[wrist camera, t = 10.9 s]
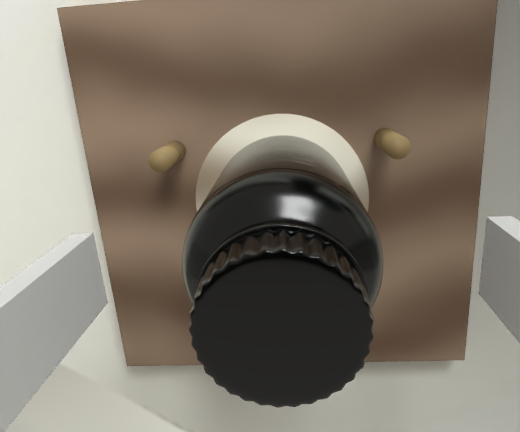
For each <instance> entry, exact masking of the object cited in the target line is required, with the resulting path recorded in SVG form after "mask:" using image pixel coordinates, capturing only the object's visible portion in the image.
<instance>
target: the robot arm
mask: <svg viewBox="0 0 520 432" xmlns="http://www.w3.org/2000/svg"><path fill="white" fill-rule="evenodd" d="M479 294H480V296H481V297H482V298H483V299H484V300H485V302H486V303H487V304H488V305H489V306H490V308H491V309H492V310H493V311H494V312H495V314H496V315H497V316H498V317H499V318H500V320H501V321H502V322H503V323H504V324H505V326H506V327H507V328H508V329H509V330H510V332H511V333H512V334H513V335H514V336H515V338H516V339H517V340H518V341H519V342H520V221H519V220H517V219H516V218H514V217H513V216H496V217H487V220H486V229H485V239H484V248H483V258H482V267H481V277H480V286H479ZM107 303H108V301H107V296H106V292H105V287H104V282H103V277H102V272H101V268H100V263H99V258H98V253H97V248H96V244H95V239H94V234H93V233H75V234H71V235H70V236H68V237H67V238H66V239H64V240H63V241H62V242H60V243H59V244H57V245H56V246H55V247H53V248H52V249H51V250H49V251H48V252H47V253H45V254H44V255H43V256H41V257H40V258H39V259H37V260H36V261H34V262H33V263H32V264H30V265H29V266H28V267H26V268H25V269H24V270H22V271H21V272H20V273H18V274H17V275H16V276H14V277H13V278H11V279H10V280H9V281H7V282H6V283H5V284H3V285H2V286H1V287H0V432H5V430H6V429H7V428H8V427H9V425H10V424H11V423H12V422H13V420H14V419H15V418H16V417H17V415H18V414H19V413H20V411H21V410H22V409H23V408H24V407H25V405H26V404H27V403H28V401H29V400H30V399H31V398H32V397H33V395H34V394H35V393H36V391H37V390H38V389H39V388H40V387H41V385H42V384H43V383H44V382H45V380H46V379H47V378H48V377H49V375H50V374H51V373H52V372H53V370H54V369H55V368H56V367H57V365H58V364H59V363H60V362H61V360H62V359H63V358H64V357H65V355H66V354H67V353H68V352H69V350H70V349H71V348H72V347H73V345H74V344H75V343H76V342H77V340H78V339H79V338H80V337H81V335H82V334H83V333H84V332H85V330H86V329H87V328H88V327H89V325H90V324H91V323H92V322H93V320H94V319H95V318H96V317H97V315H98V314H99V313H100V312H101V310H102V309H103V308H104V307H105V305H106V304H107Z"/></svg>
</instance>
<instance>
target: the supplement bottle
mask: <svg viewBox="0 0 520 432" xmlns="http://www.w3.org/2000/svg"><path fill="white" fill-rule="evenodd" d="M182 273H183V279H184V284H185V288H186V291H187V294H188V296H189V299H190V301H191V303H192V306H191V309H190V319H191V321H190V324H189V332H190V334H191V336H192V341H191V345H192V347H193V348H194V350H195V351H196V352H197V355H196V356H197V360H198V361H199V362H200V363H201V364H202V365H203V366H204V370H205V372H206V373H207V374H208V375H210V376H211V377H213V378H214V381H215V382H216V384H218V385H220V386H222V387H224V388H225V389H226V390H227V391H228V392H229V393H230V394H233V395H238V396H240V397H241V398H242V399H243V400H245V401H254V402H256V403H258V404H260V405H272V406H275V407H283V406H291V407H296V406H299V405H301V404H312V403H314V402H315V401H317V400H319V399H325V398H328V397H329V396H330V395H331V394H332V393H334V392H337V391H340V390H342V388H343V387H344V385H345V384H346V383H348V382H350V381H352V380H353V379H354V377H355V374H356V372H358V371H359V370H360V369H362V368H363V366H364V359H365V358H366V357H367V356H368V355H369V354H370V344H371V342H372V340H373V338H374V333H373V330H372V326H373V322H374V318H373V314H372V311H371V309H372V307H373V305H374V303H375V301H376V298H377V296H378V293H379V290H380V287H381V283H382V277H383V252H382V246H381V243H380V239H379V236H378V233H377V231H376V228H375V226H374V223H373V222H372V220H371V218H370V216H369V214H368V213H367V211H366V209H365V207H364V206H363V204H362V202H361V200H360V199H359V197H358V195H357V193H356V192H355V190H354V188H353V187H352V185H351V183H350V181H349V180H348V178H347V176H346V174H345V173H344V171H343V169H342V168H341V166H340V165H339V163H338V162H337V161H336V160H335V159H334V157H333V156H332V155H331V154H330V153H329V152H327V151H326V150H325V149H323V148H322V147H320V146H319V145H317V144H315V143H313V142H311V141H309V140H306V139H304V138H300V137H295V136H286V135H280V136H271V137H266V138H263V139H260V140H257V141H255V142H253V143H251V144H249V145H247V146H246V147H244V148H243V149H241V150H240V151H239V152H238V153H237V154H235V155H234V156H233V158H232V159H231V160H230V161H229V162H228V164H227V165H226V166H225V168H224V169H223V171H222V172H221V174H220V176H219V177H218V179H217V181H216V182H215V184H214V185H213V187H212V189H211V190H210V192H209V194H208V195H207V197H206V198H205V200H204V202H203V203H202V205H201V207H200V208H199V210H198V212H197V213H196V215H195V217H194V218H193V221H192V223H191V225H190V227H189V230H188V232H187V235H186V238H185V242H184V246H183V253H182Z"/></svg>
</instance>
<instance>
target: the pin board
mask: <svg viewBox="0 0 520 432" xmlns="http://www.w3.org/2000/svg"><path fill="white" fill-rule="evenodd" d="M497 1H498V0H140V1H129V2H118V3H106V4H95V5H84V6H73V7H62V8H57V11H58V16H59V21H60V26H61V31H62V36H63V41H64V46H65V52H66V57H67V62H68V67H69V72H70V77H71V82H72V87H73V92H74V97H75V103H76V108H77V113H78V118H79V123H80V128H81V133H82V138H83V143H84V148H85V154H86V159H87V164H88V169H89V174H90V179H91V184H92V189H93V194H94V199H95V205H96V210H97V215H98V220H99V225H100V230H101V235H102V240H103V245H104V250H105V256H106V261H107V266H108V271H109V276H110V281H111V286H112V291H113V296H114V301H115V306H116V312H117V317H118V322H119V327H120V332H121V337H122V342H123V347H124V352H125V357H126V363H127V366H156V365H202V364H201V363H200V362H199V361H198V360H197V356H196V355H197V352H196V351H195V350H194V348H193V347H192V345H191V341H192V336H191V334H190V332H189V324H190V321H191V319H190V309H191V306H192V303H191V301H190V299H189V296H188V294H187V291H186V288H185V284H184V279H183V273H182V253H183V246H184V242H185V238H186V235H187V232H188V230H189V227H190V225H191V223H192V221H193V218H194V217H195V215H196V213H197V212H198V210H199V208H200V207H201V205H202V203H203V202H204V200H205V198H206V197H207V195H208V194H209V192H210V190H211V189H212V187H213V185H214V184H215V182H216V181H217V179H218V177H219V176H220V174H221V172H222V171H223V169H224V168H225V166H226V165H227V164H228V162H229V161H230V160H231V159H232V158H233V156H234V155H235V154H237V153H238V152H239V151H240V150H241V149H243V148H244V147H246V146H247V145H249V144H251V143H253V142H255V141H257V140H260V139H263V138H266V137H271V136H280V135H286V136H295V137H300V138H304V139H306V140H309V141H311V142H313V143H315V144H317V145H319V146H320V147H322V148H323V149H325V150H326V151H327V152H329V153H330V154H331V155H332V156H333V157H334V159H335V160H336V161H337V162H338V163H339V165H340V166H341V168H342V169H343V171H344V173H345V174H346V176H347V178H348V180H349V181H350V183H351V185H352V187H353V188H354V190H355V192H356V193H357V195H358V197H359V199H360V200H361V202H362V204H363V206H364V207H365V209H366V211H367V213H368V214H369V216H370V218H371V220H372V222H373V223H374V226H375V228H376V231H377V233H378V236H379V239H380V243H381V246H382V252H383V277H382V283H381V287H380V290H379V293H378V296H377V298H376V301H375V303H374V305H373V307H372V309H371V311H372V314H373V318H374V322H373V326H372V330H373V333H374V338H373V340H372V342H371V344H370V354H369V355H368V356H367V357H366V358H365V359H364V362H385V361H442V360H464V358H465V347H466V336H467V325H468V315H469V304H470V293H471V282H472V271H473V261H474V250H475V239H476V228H477V217H478V207H479V196H480V185H481V174H482V163H483V153H484V142H485V131H486V120H487V109H488V99H489V88H490V77H491V66H492V55H493V45H494V34H495V23H496V12H497Z"/></svg>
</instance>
